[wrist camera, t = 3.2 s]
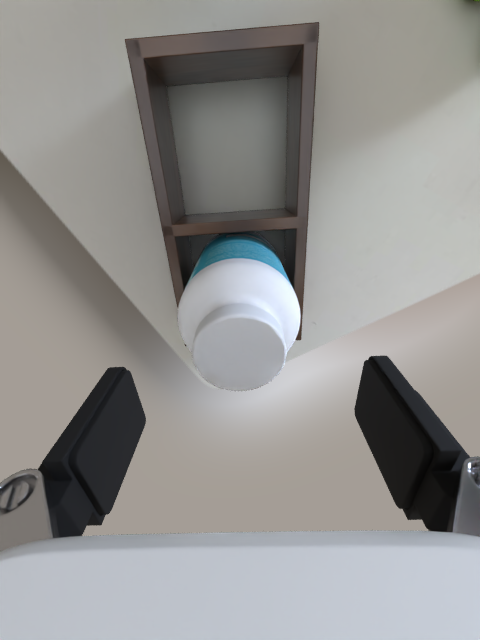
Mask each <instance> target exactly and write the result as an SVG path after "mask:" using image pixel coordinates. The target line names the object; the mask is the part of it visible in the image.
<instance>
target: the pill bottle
mask: <svg viewBox="0 0 480 640" xmlns="http://www.w3.org/2000/svg"><path fill="white" fill-rule="evenodd" d="M300 319H301V314H300V307H299V303H298V299H297V297H296V294H295V292H294V289H293V287H292V285H291V283H290V281H289V279H288V277H287V275H286V272H285V270H284V268H283V266H282V264H281V261H280V259H279V257H278V255H277V253H276V251H275V249H274V248H273V246H272V245H271V244H270V243H269V241H268V240H266V239H265V238H264V237H263V236H261V235H259V234H258V233H255V232H238V233H222V234H218V235H217V236H215V237H214V238H213V239H211V240H210V241H209V242H208V244H207V245H206V246H205V248H204V249H203V251H202V253H201V255H200V257H199V259H198V261H197V264H196V266H195V268H194V270H193V272H192V275H191V277H190V279H189V281H188V283H187V285H186V288H185V290H184V292H183V294H182V297H181V299H180V302H179V306H178V316H177V320H178V327H179V331H180V334H181V337H182V339H183V341H184V343H185V344H186V346H187V347H188V349H189V350H190V351H191V352H192V359H193V363H194V365H195V368H196V369H197V371H198V372H199V374H200V375H201V376H202V377H203V378H204V379H205V380H206V381H208V382H209V383H211V384H213V385H214V386H217V387H219V388H222V389H226V390H231V391H247V390H253V389H256V388H259V387H261V386H263V385H265V384H267V383H268V382H270V381H272V380H273V379H274V378H275V377H276V376H277V375H278V374H279V373H280V371H281V369H282V368H283V366H284V363H285V360H286V353H287V352H288V350H289V349H290V348H291V346H292V345H293V343H294V341H295V339H296V337H297V334H298V331H299V327H300Z"/></svg>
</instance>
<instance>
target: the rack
mask: <svg viewBox="0 0 480 640" xmlns="http://www.w3.org/2000/svg"><path fill="white" fill-rule="evenodd" d="M318 36H319V22H315V23H304V24H292V25H281V26H270V27H258V28H247V29H235V30H224V31H213V32H201V33H190V34H178V35H167V36H156V37H144V38H133V39H125V43H126V48H127V53H128V58H129V63H130V68H131V73H132V78H133V83H134V88H135V93H136V98H137V104H138V109H139V114H140V119H141V124H142V129H143V134H144V139H145V144H146V149H147V154H148V160H149V165H150V170H151V175H152V180H153V185H154V190H155V195H156V200H157V205H158V210H159V216H160V221H161V226H162V231H163V236H164V241H165V246H166V251H167V256H168V261H169V266H170V271H171V277H172V282H173V287H174V292H175V297H176V302H177V307H178V306H179V302H180V299H181V297H182V294H183V292H184V290H185V288H186V285H187V283H188V281H189V279H190V277H191V275H192V272H193V270H194V267H193V260H192V254H191V247H190V241H189V236H192V235H207V234H222V233H238V232H253V231H268V230H283V229H285V255H284V270H285V272H286V275H287V277H288V279H289V281H290V283H291V285H292V287H293V289H294V292H295V294H296V297H297V299H298V303H299V307H300V314H301V319H300V327H299V331H298V334H297V337H296V339H295V340H301V331H302V314H303V296H304V279H305V261H306V244H307V227H308V209H309V191H310V173H311V156H312V138H313V121H314V103H315V86H316V68H317V51H318ZM283 76H288V88H287V144H286V200H285V208H284V209H269V210H255V211H240V212H225V213H211V214H196V215H186V214H185V208H184V201H183V195H182V188H181V181H180V175H179V168H178V162H177V155H176V148H175V142H174V135H173V129H172V122H171V115H170V109H169V102H168V96H167V89H166V86H173V85H185V84H197V83H210V82H222V81H234V80H246V79H258V78H270V77H283ZM185 346H186V344H185Z"/></svg>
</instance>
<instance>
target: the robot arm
mask: <svg viewBox="0 0 480 640" xmlns="http://www.w3.org/2000/svg"><path fill="white" fill-rule="evenodd" d="M355 416H356V419H357V421H358V423H359V426H360V428H361V430H362V432H363V434H364V437H365V439H366V441H367V443H368V445H369V447H370V449H371V452H372V454H373V456H374V458H375V460H376V463H377V465H378V467H379V469H380V471H381V473H382V476H383V478H384V480H385V482H386V484H387V486H388V489H389V491H390V493H391V495H392V497H393V499H394V502H395V504H396V505H397V507H398V508H400V509H403V511H404V513H405V515H406V517H407V519H408V520H417V519H422V520H423V522H424V524H425V526H426V528H427V529H429V531H373V530H371V531H288V532H287V531H284V532H223V533H177V534H176V533H173V534H129V535H128V534H127V535H102V536H101V535H100V536H82V534H83V532H84V530H85V528H86V526H87V525H102V522H103V520H104V517H105V515H106V514H109V513H110V511H111V510H112V507H113V505H114V502H115V500H116V497H117V495H118V492H119V490H120V487H121V484H122V482H123V479H124V477H125V475H126V472H127V469H128V467H129V464H130V462H131V459H132V457H133V454H134V452H135V449H136V447H137V444H138V442H139V439H140V436H141V434H142V431H143V429H144V426H145V422H146V418H145V414H144V411H143V408H142V405H141V402H140V399H139V396H138V393H137V390H136V387H135V384H134V381H133V378H132V375H131V373H130V371H129V370H126V368H124V367H113V368H108V369H107V370H106V372H105V373H104V375H103V376H102V377H101V379H100V380H99V382H98V383H97V385H96V386H95V388H94V389H93V390H92V392H91V393H90V395H89V396H88V397H87V399H86V400H85V402H84V403H83V405H82V406H81V407H80V409H79V410H78V412H77V413H76V415H75V416H74V417H73V419H72V420H71V422H70V423H69V425H68V426H67V427H66V429H65V430H64V432H63V433H62V434H61V436H60V437H59V439H58V440H57V442H56V443H55V444H54V446H53V447H52V449H51V450H50V452H49V453H48V454H47V456H46V457H45V459H44V460H43V462H42V464H41V465H40V467H39V468H38V470H37V469H26V470H22V471H19V472H17V473H15V474H13V475H11V476H10V477H8V478H6V479H5V480H3V481H2V482H1V483H0V640H480V457H478V456H477V457H469V455H468V454H467V453H466V452H465V450H464V449H463V448H462V447H461V445H460V444H459V443H458V442H457V440H456V439H455V438H454V437H453V435H452V434H451V433H450V432H449V430H448V429H447V428H446V427H445V425H444V424H443V423H442V422H441V421H440V419H439V418H438V417H437V415H436V414H435V413H434V412H433V410H432V409H431V408H430V407H429V405H428V404H427V403H426V402H425V400H424V399H423V398H422V397H421V395H420V394H419V393H418V392H417V391H415V390H414V389H413V388H412V386H411V385H410V384H409V383H408V381H407V380H406V379H405V378H404V376H403V375H402V374H401V373H400V371H399V370H398V369H397V367H396V366H395V365H394V364H393V362H392V361H391V360H390V359H389V358H388V357H387V356H371V357H369V359H368V360H366V361H365V362H364V366H363V370H362V375H361V380H360V385H359V390H358V395H357V400H356V405H355Z"/></svg>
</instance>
